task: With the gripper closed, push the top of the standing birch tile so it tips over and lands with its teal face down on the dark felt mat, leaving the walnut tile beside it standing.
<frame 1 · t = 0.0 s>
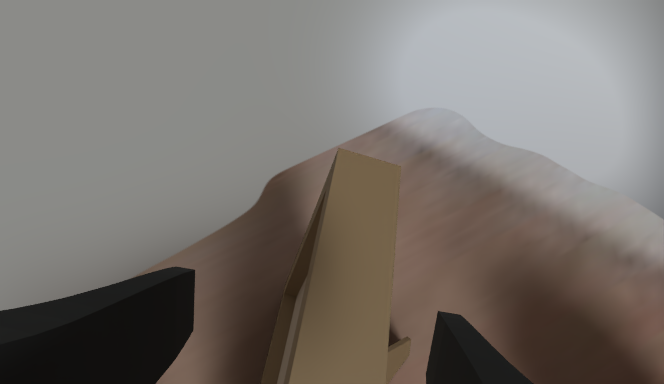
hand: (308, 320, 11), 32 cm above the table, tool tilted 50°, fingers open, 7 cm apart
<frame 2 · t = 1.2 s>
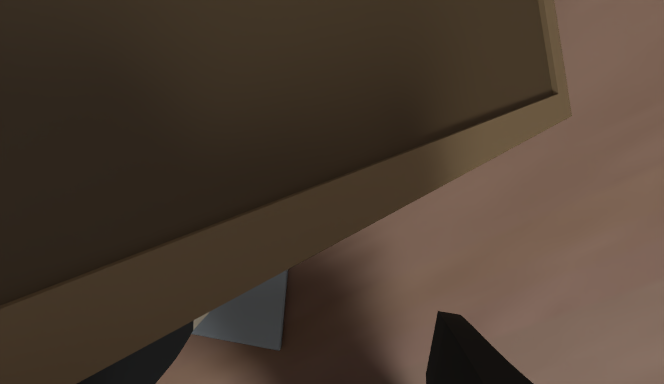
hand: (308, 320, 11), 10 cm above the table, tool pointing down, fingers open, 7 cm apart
felt mat: (159, 217, 22), on the table
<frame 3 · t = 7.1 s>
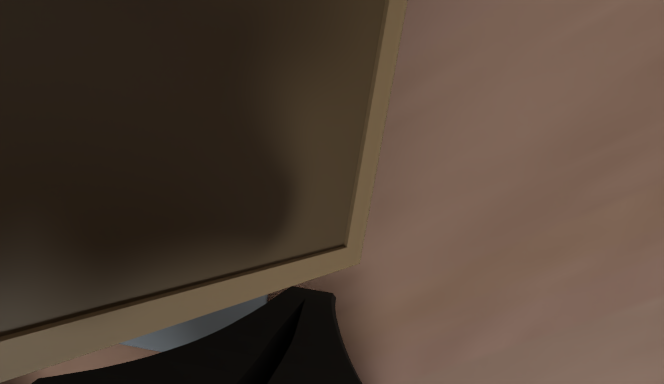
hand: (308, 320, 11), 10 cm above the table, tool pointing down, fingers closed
photo frame: (476, 2, 13), point 5 cm above the table, touching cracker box
felt mat: (140, 240, 23), on the table
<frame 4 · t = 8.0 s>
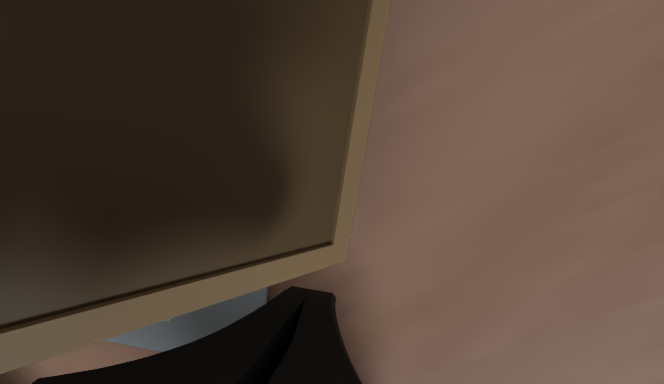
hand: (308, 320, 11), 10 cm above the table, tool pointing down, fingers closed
photo frame: (457, 0, 13), point 5 cm above the table, touching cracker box
felt mat: (140, 240, 23), on the table
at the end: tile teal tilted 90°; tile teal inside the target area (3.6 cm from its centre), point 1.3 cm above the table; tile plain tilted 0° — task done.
